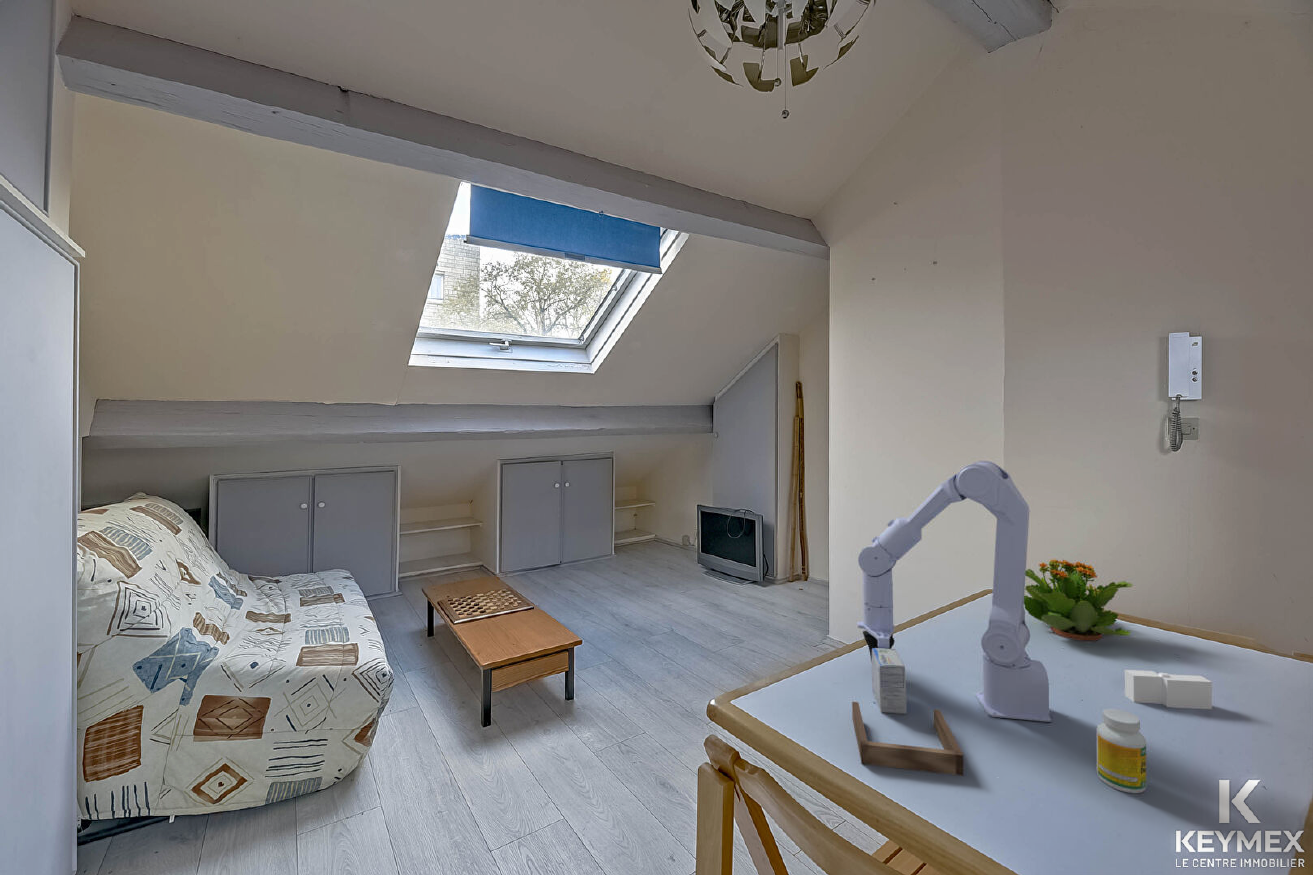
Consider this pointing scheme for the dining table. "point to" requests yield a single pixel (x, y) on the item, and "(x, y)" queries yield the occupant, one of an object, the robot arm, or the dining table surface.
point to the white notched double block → (1168, 689)
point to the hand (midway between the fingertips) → (878, 669)
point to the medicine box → (888, 680)
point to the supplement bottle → (1121, 751)
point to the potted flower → (1072, 601)
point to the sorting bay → (911, 749)
